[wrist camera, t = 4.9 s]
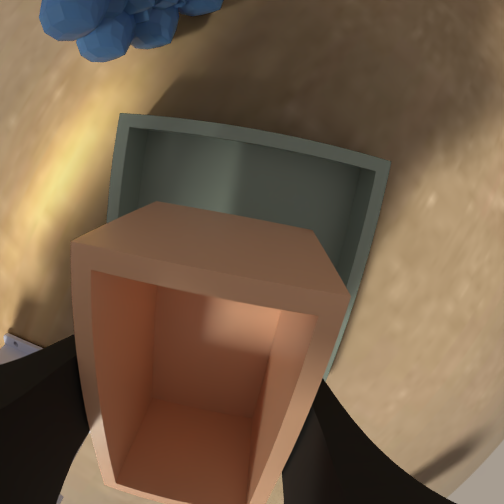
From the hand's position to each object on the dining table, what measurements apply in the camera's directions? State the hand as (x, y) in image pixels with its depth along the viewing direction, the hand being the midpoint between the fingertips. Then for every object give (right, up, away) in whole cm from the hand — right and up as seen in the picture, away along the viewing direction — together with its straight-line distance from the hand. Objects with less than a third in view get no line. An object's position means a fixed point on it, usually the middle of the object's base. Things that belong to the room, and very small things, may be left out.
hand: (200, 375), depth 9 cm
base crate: (0, +3, +8) cm, 9 cm away
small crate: (0, +1, +3) cm, 3 cm away
